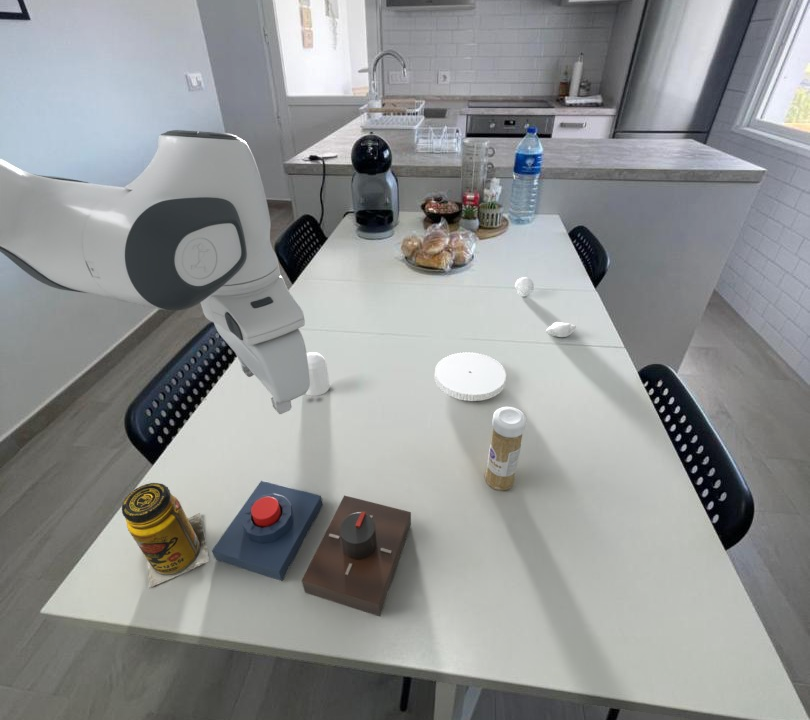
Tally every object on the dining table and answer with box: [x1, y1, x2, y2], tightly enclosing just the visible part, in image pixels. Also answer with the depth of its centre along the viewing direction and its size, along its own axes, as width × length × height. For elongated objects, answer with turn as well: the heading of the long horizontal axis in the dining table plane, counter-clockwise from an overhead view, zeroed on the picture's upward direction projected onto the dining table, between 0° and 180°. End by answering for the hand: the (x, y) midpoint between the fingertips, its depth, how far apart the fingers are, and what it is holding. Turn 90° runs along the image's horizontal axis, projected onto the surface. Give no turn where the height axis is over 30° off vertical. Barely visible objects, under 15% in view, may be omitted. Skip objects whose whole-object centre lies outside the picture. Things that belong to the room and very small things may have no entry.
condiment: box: [121, 482, 210, 588], centre depth 57 cm, size 7×8×12 cm
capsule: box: [304, 351, 331, 397], centre depth 87 cm, size 5×5×8 cm
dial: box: [340, 512, 377, 559], centre depth 57 cm, size 4×4×4 cm
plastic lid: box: [434, 351, 507, 402], centre depth 89 cm, size 14×14×2 cm
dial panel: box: [301, 494, 412, 617], centre depth 59 cm, size 13×10×3 cm
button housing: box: [211, 480, 324, 582], centre depth 62 cm, size 12×10×4 cm
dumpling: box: [545, 321, 578, 338], centre depth 102 cm, size 7×5×4 cm
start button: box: [251, 497, 281, 527], centre depth 60 cm, size 4×4×2 cm
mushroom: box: [514, 276, 535, 298], centre depth 118 cm, size 5×5×5 cm
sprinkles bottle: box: [484, 406, 527, 491], centre depth 66 cm, size 5×5×13 cm
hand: (266, 390), depth 57 cm, fingers open, 8 cm apart
